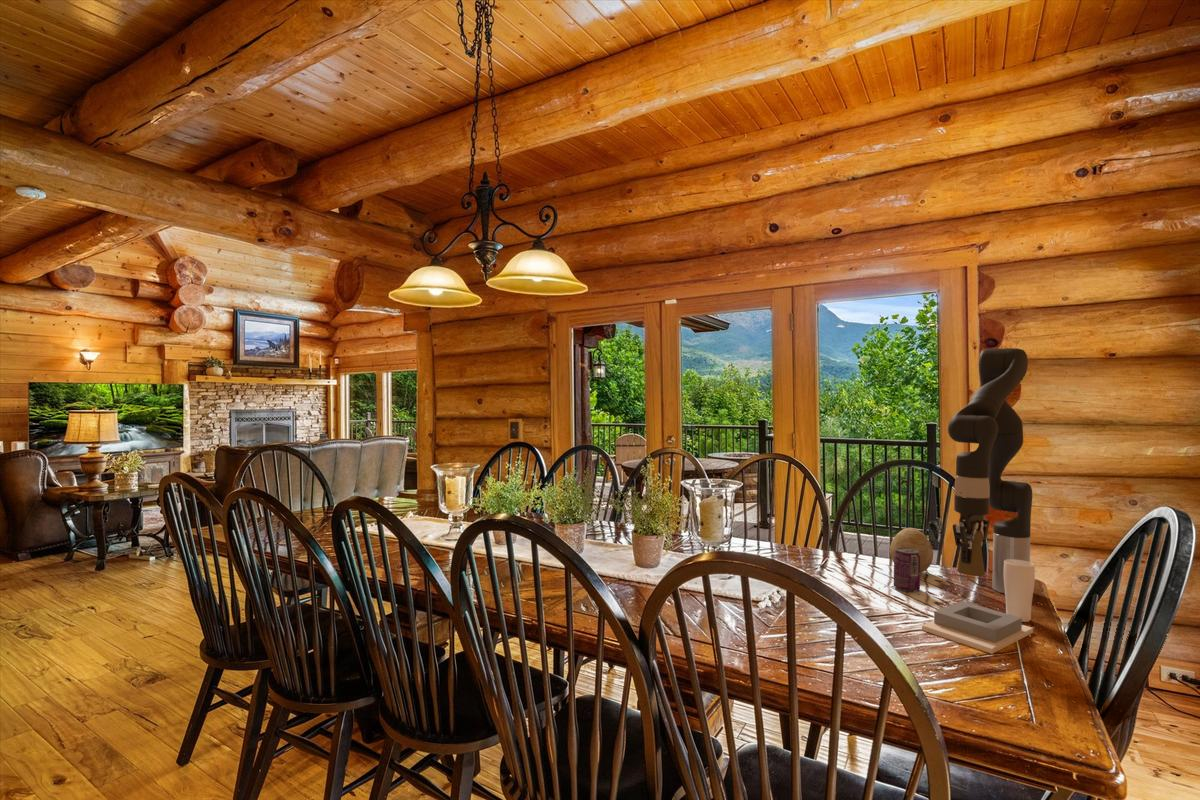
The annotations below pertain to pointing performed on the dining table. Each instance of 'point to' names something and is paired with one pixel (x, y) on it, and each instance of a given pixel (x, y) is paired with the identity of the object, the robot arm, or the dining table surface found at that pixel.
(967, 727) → the dining table surface
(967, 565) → the cork
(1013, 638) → the socket board
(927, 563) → the fossilized egg
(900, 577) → the beverage can
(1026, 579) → the drinking glass
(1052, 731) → the dining table surface
